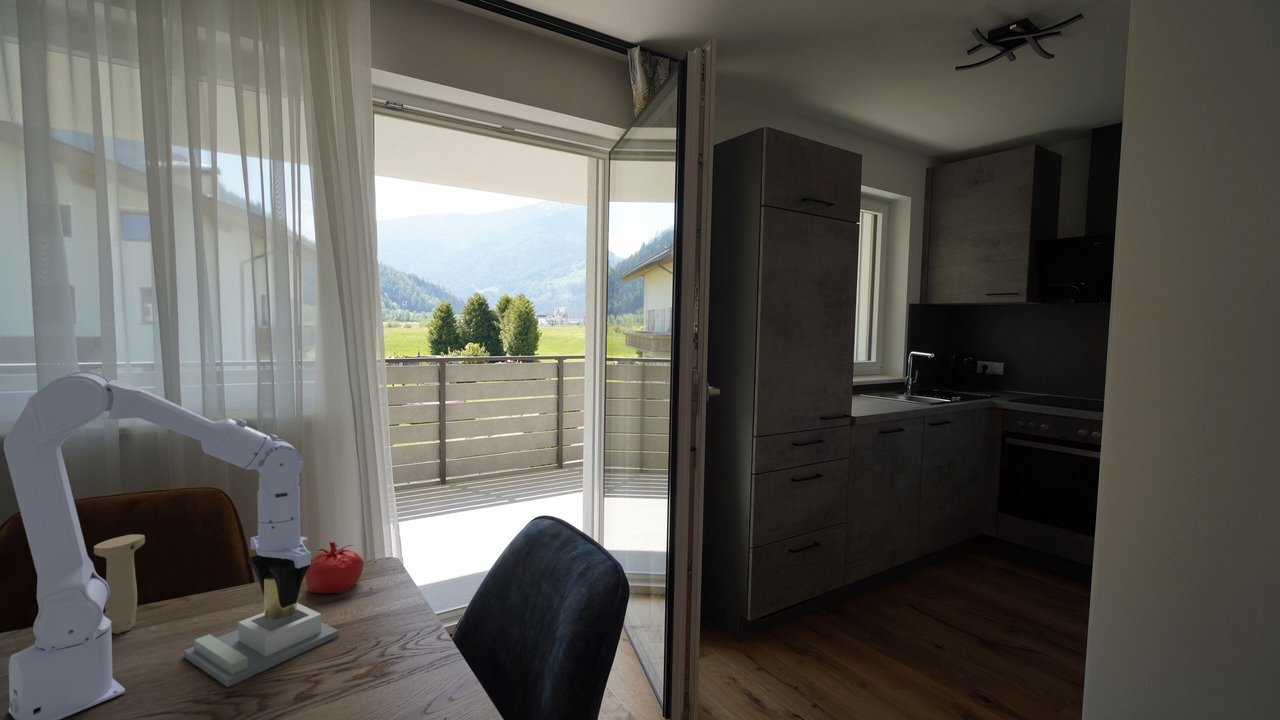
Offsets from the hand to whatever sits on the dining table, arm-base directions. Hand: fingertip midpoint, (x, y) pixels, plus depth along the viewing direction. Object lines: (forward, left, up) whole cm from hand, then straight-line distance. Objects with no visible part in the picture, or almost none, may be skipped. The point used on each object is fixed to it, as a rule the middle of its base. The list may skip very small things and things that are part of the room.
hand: (280, 600), depth 90 cm
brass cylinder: (0, 0, -2) cm, 2 cm away
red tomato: (+16, +12, -7) cm, 21 cm away
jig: (-2, +1, -7) cm, 7 cm away
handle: (-12, +26, -7) cm, 29 cm away
